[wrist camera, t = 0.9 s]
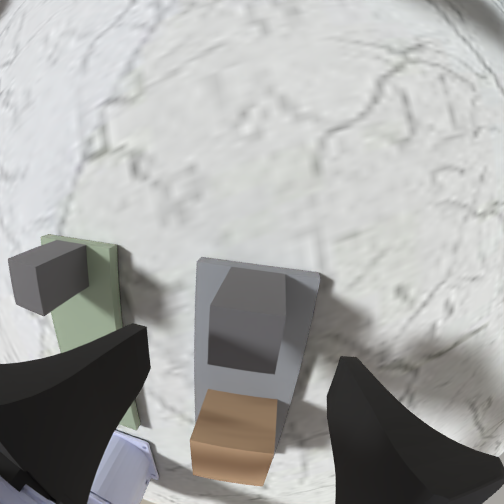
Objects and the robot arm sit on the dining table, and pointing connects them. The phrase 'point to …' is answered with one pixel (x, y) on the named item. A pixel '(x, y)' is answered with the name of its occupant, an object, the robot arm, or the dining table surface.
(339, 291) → the dining table surface
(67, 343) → the olive strip
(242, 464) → the walnut block
